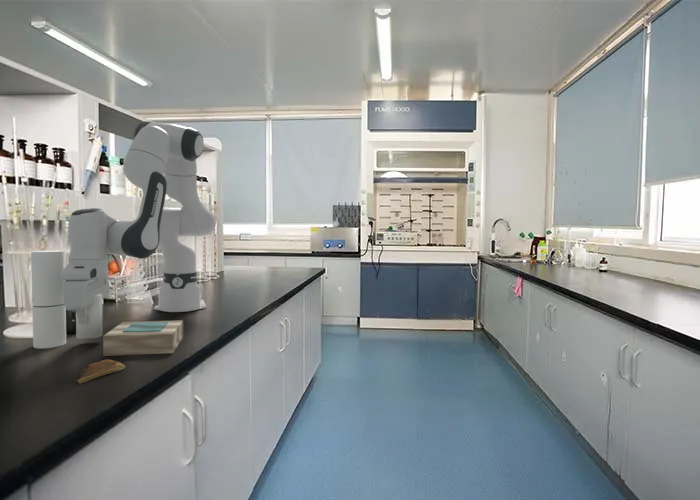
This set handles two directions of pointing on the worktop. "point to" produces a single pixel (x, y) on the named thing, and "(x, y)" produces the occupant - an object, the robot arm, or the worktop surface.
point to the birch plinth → (143, 338)
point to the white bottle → (91, 321)
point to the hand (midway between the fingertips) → (89, 320)
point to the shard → (99, 370)
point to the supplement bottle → (70, 321)
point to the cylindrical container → (48, 299)
